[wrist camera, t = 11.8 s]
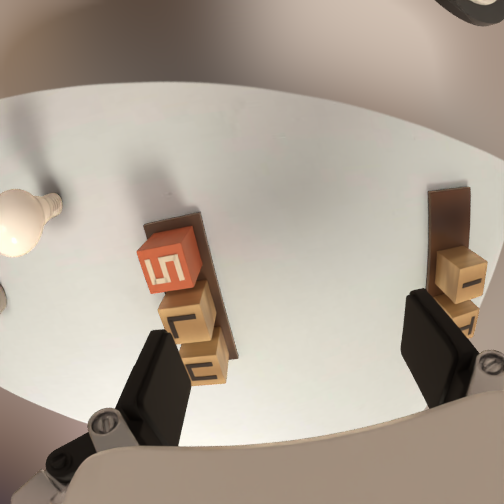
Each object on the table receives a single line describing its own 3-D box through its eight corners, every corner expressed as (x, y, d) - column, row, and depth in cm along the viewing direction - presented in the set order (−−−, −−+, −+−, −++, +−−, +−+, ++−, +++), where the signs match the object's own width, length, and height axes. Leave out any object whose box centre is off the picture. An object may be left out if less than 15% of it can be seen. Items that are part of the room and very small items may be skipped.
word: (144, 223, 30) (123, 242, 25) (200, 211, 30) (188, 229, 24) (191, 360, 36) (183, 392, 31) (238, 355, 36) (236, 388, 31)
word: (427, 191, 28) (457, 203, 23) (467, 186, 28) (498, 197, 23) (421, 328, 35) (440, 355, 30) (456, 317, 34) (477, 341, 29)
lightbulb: (74, 171, 28) (7, 193, 18) (82, 228, 30) (23, 268, 20) (33, 179, 28) (-32, 202, 18) (42, 231, 30) (-17, 268, 20)
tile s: (153, 233, 30) (135, 251, 25) (192, 225, 30) (180, 243, 25) (164, 271, 31) (150, 294, 27) (202, 264, 31) (193, 288, 26)
